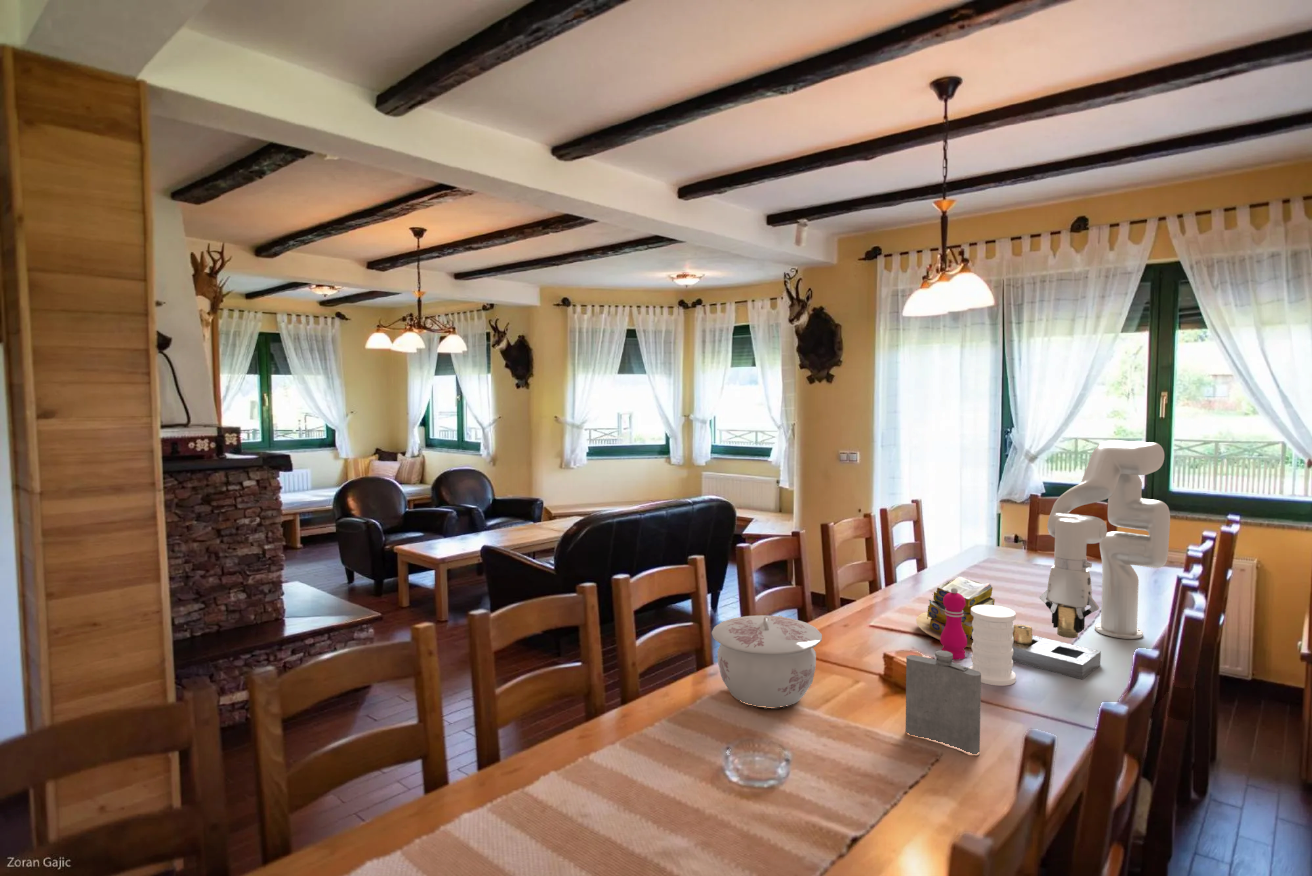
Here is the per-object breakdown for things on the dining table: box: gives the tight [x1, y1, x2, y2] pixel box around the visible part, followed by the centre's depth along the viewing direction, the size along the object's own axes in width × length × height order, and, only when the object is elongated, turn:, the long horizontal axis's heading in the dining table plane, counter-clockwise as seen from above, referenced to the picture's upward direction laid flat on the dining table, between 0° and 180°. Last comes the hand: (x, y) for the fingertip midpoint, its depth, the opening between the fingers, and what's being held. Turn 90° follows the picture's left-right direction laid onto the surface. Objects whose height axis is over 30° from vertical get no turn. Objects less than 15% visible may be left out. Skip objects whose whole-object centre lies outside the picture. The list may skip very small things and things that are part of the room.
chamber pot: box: [711, 614, 823, 707], centre depth 181 cm, size 28×28×21 cm
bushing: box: [1056, 604, 1079, 639], centre depth 198 cm, size 5×5×8 cm
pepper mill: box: [939, 588, 967, 661], centre depth 207 cm, size 7×7×20 cm
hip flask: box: [905, 650, 982, 754], centre depth 157 cm, size 16×4×20 cm, turn 47°
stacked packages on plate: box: [915, 575, 996, 649], centre depth 225 cm, size 25×25×17 cm
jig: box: [1012, 623, 1102, 681], centre depth 203 cm, size 14×24×8 cm, turn 41°
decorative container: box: [968, 604, 1017, 687], centre depth 192 cm, size 12×12×18 cm
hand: (1067, 628), depth 198 cm, fingers closed on bushing, 5 cm apart
